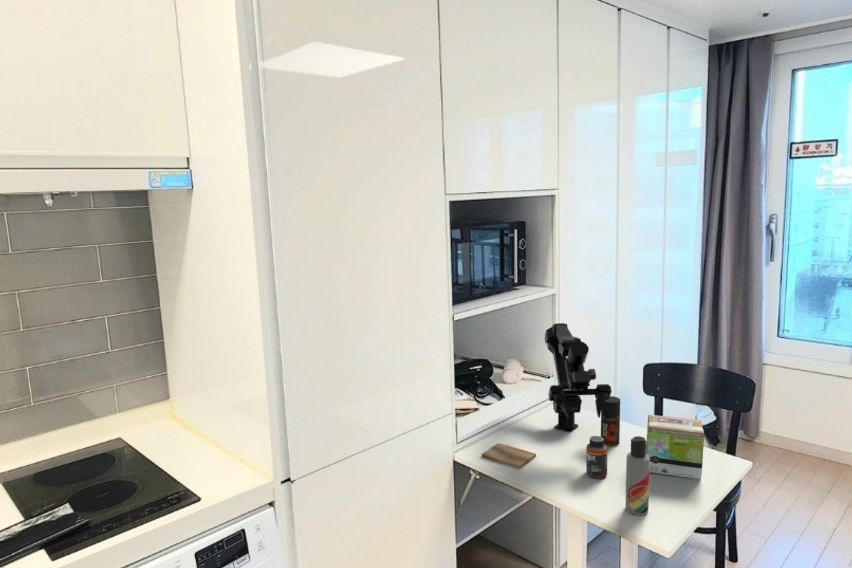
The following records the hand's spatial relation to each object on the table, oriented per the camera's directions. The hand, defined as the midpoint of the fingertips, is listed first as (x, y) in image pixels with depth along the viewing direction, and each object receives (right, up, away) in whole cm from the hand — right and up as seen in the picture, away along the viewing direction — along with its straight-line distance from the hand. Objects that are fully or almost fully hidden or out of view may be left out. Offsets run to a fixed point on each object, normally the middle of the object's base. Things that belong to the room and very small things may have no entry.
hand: (584, 417), depth 177 cm
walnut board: (-22, -14, +7) cm, 27 cm away
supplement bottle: (+2, -16, -6) cm, 17 cm away
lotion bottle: (+7, -19, -25) cm, 32 cm away
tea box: (+25, -15, -4) cm, 30 cm away
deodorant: (+13, -12, +15) cm, 23 cm away
